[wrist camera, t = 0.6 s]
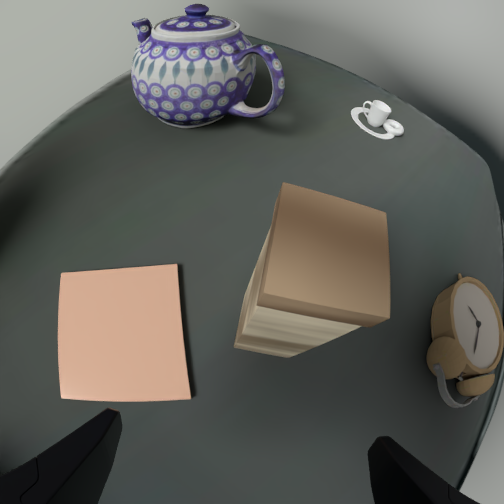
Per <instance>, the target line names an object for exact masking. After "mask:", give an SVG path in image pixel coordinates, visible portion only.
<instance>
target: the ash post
mask: <svg viewBox="0 0 504 504" xmlns="http://www.w3.org/2000/svg"><path fill="white" fill-rule="evenodd" d="M389 318H390V263H389V244H388V230H387V219H386V213H385V212H382V211H379V210H376V209H373V208H370V207H367V206H364V205H361V204H358V203H354V202H351V201H348V200H345V199H341V198H338V197H335V196H331V195H328V194H324V193H321V192H317V191H314V190H310V189H307V188H303V187H299V186H296V185H292V184H288V183H284V182H283V184H282V186H281V189H280V192H279V195H278V198H277V200H276V203H275V208H274V214H273V219H272V225H271V227H270V230H269V232H268V235H267V238H266V240H265V243H264V246H263V248H262V251H261V254H260V256H259V259H258V261H257V264H256V267H255V269H254V272H253V274H252V277H251V280H250V282H249V285H248V287H247V290H246V293H245V296H244V300H243V305H242V310H241V314H240V319H239V324H238V329H237V333H236V338H235V343H234V347H235V348H240V349H244V350H249V351H254V352H259V353H264V354H270V355H275V356H281V357H287V358H289V357H292V356H295V355H297V354H300V353H302V352H305V351H307V350H309V349H312V348H314V347H317V346H319V345H321V344H324V343H326V342H328V341H331V340H333V339H335V338H337V337H340V336H342V335H344V334H346V333H348V332H351V331H353V330H355V329H357V328H359V327H361V326H364V327H372V326H374V325H377V324H379V323H381V322H383V321H385V320H387V319H389Z"/></svg>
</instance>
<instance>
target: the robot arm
mask: <svg viewBox="0 0 504 504" xmlns="http://www.w3.org/2000/svg"><path fill="white" fill-rule="evenodd" d="M121 432H122V421H121V415H120V412H119V411H118V410H115V409H112V408H106V409H105V410H104V411H102V412H101V413H99V414H98V415H97V416H95V417H94V418H92V419H91V420H89V421H88V422H87V423H85V424H84V425H82V426H81V427H79V428H78V429H76V430H75V431H74V432H72V433H71V434H69V435H68V436H66V437H65V438H63V439H62V440H60V441H59V442H57V443H56V444H54V445H53V446H51V447H50V448H48V449H47V450H45V451H44V452H42V453H41V454H39V455H38V456H37V457H34V458H33V459H31V460H30V461H28V462H26V463H25V464H23V465H21V466H20V467H18V468H16V469H14V470H12V471H9V472H7V473H5V474H3V475H0V504H98V501H99V499H100V496H101V494H102V491H103V489H104V486H105V484H106V481H107V479H108V476H109V474H110V471H111V468H112V466H113V462H114V458H115V454H116V450H117V447H118V443H119V439H120V435H121ZM368 461H369V471H370V481H371V488H372V493H373V497H374V502H375V504H480V503H478V502H476V501H474V500H472V499H470V498H469V497H467V496H466V495H464V494H462V493H461V492H459V491H458V490H457V489H455V488H454V487H452V486H451V485H450V484H448V483H447V482H446V481H444V480H443V479H442V478H440V477H439V476H438V475H437V474H435V473H434V472H433V471H431V470H430V469H429V468H428V467H426V466H425V465H424V464H422V463H421V462H420V461H419V460H417V459H416V458H415V457H414V456H412V455H411V454H410V453H409V452H408V451H406V450H405V449H404V448H403V447H401V446H400V445H399V444H398V443H397V442H395V441H394V440H393V439H392V438H391V437H389V436H381V437H378V438H377V439H376V440H375V442H374V443H373V444H372V446H371V447H370V448H369V450H368Z"/></svg>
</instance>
